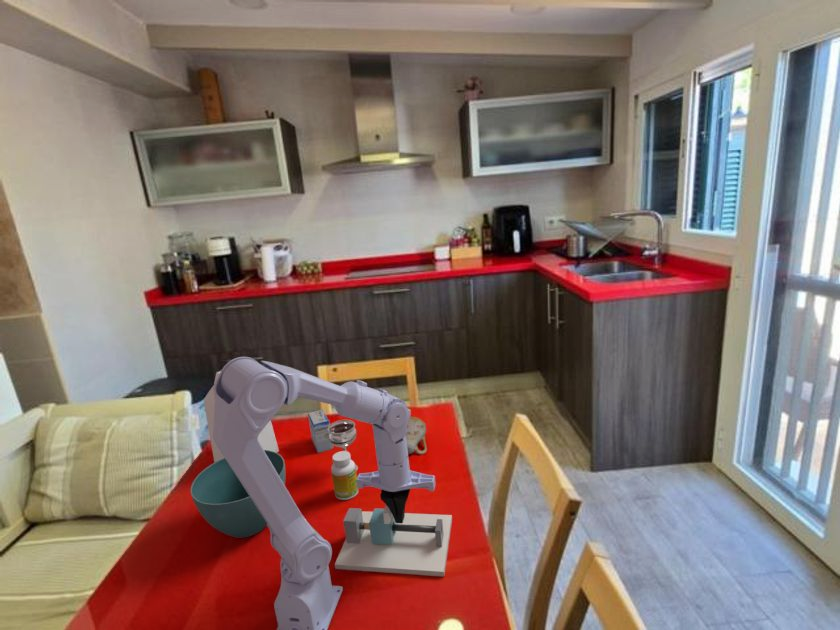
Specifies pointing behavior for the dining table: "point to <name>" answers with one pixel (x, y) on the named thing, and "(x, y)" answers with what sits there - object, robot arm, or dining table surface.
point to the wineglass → (342, 434)
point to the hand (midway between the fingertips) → (400, 519)
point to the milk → (264, 438)
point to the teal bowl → (230, 498)
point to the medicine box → (320, 431)
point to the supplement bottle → (344, 476)
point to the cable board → (397, 545)
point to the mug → (415, 435)
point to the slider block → (382, 526)
